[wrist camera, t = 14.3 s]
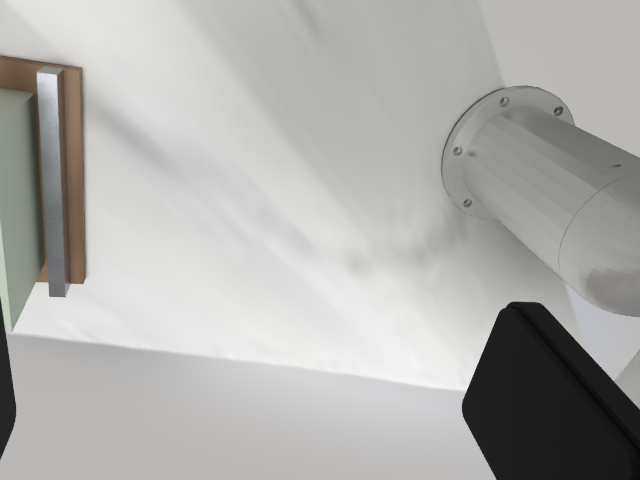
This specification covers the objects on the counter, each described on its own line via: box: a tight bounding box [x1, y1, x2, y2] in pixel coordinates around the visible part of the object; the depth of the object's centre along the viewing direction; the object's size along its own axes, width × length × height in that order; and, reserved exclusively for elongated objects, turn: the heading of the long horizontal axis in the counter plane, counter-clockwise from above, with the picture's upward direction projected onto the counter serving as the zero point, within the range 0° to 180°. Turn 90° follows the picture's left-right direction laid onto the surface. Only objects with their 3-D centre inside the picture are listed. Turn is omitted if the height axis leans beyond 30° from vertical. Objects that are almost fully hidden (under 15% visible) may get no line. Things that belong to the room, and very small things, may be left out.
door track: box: [0, 56, 85, 297], centre depth 38 cm, size 10×18×3 cm, turn 169°
